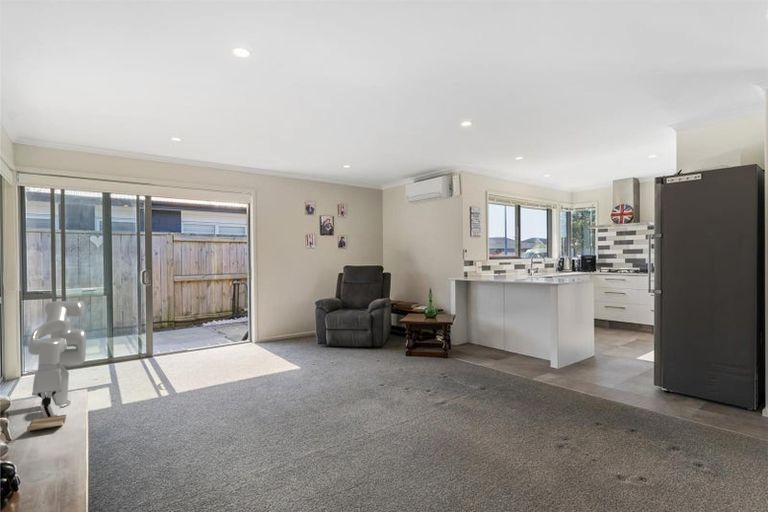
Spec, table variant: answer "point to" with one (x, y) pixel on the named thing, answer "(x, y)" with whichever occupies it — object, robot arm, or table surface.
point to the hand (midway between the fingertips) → (46, 406)
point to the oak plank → (45, 426)
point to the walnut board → (48, 420)
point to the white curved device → (50, 409)
